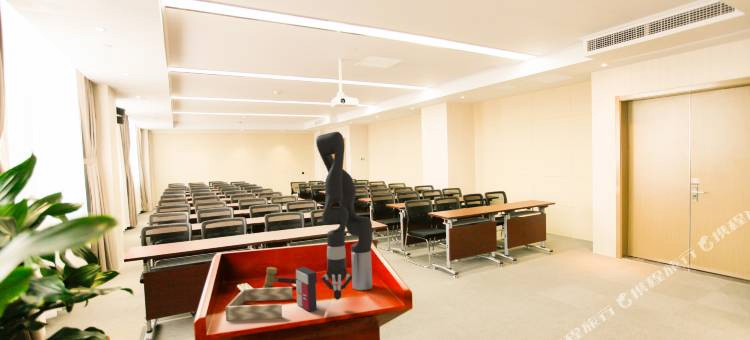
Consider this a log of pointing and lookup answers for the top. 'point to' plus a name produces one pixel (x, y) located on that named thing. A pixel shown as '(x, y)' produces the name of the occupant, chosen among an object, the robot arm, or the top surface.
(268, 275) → the gavel
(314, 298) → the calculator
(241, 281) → the top surface
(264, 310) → the beige piece
